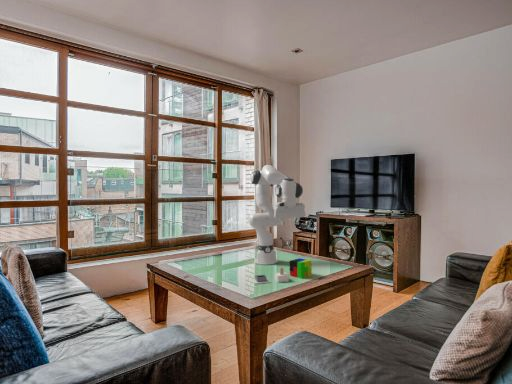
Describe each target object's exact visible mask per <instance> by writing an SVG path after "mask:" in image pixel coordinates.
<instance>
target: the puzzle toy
mask: <svg viewBox="0 0 512 384" xmlns="http://www.w3.org/2000/svg"><path fill="white" fill-rule="evenodd" d="M311 276H312V260H311V259H305V258H301V257H299V258H295V259H291V260H289V277H293V278H297V279H298V278H299V279H305V278H308V277H311Z"/></svg>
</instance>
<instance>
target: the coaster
mask: <svg viewBox="0 0 512 384" xmlns="http://www.w3.org/2000/svg"><path fill="white" fill-rule="evenodd" d="M251 281H252V283H253V284H254V285H261V284H262V285H263V284H271V280H270V279H269V278H268V277H267V281H264V282H257V281H256V280H255V278H251Z"/></svg>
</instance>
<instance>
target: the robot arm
mask: <svg viewBox="0 0 512 384" xmlns="http://www.w3.org/2000/svg"><path fill="white" fill-rule="evenodd" d="M249 178H250V182H251V184H252V185H254V186H255V202H256V207H257V208H258V209H261V210H262V211H263V212H256V213H253V214H250V215H249V217H248V224H249V225H250V227H252V228H253V229H254V230H255V231H256V233H257V237H258V245H257V247H258V248H257V252H256V253H255V254H254V257H255V258H254V264H256V265H268V266H269V265H274V264H276V263H279V260H278V259H277V253H276V251H275V250H274V249H275V248H274V247H275V245H274V237H273V236H274V235H273V233H271V232H270V231H268V230H267V229H266V228H267V227H268V228H269V227H270V228H271V227H277V226H280V225H281V226H285V221H283V220H284V219H291V218H294V219H295V218H296V219H297V220H296V221H295V225H299V222H300V220H301V218H305V216H306V210H305V208H306V207H305V203H303V202H297V199H299V198H300V197H301V196H302V195H303V191H304V190H303V186H302V185H301V184H300V183H299V182H296V181H295V179H294V178H291V177H289V176H287V175H285V174H283V173H282V172H280V171H279V170H277V168H276V167H275V166H273V165H271V164H266V165H264V166H263V167H262V169H261V170H253V171H252V172H251V174H250V177H249ZM274 185H275V188H274V189H275V190H274V191H275V196H276V197H277V198H279V199H282V200H281V201H279V202H275V207H273V206H272V203H271V195H270V190H269V189H270V187H274Z"/></svg>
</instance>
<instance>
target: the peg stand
mask: <svg viewBox="0 0 512 384" xmlns="http://www.w3.org/2000/svg"><path fill="white" fill-rule="evenodd" d="M278 271H279V272H274V280H275V281H276V282H277V283H285V282H286V283H287V282H289V281H290V278H289V277H290V274H288V273H287V272H285V271H284V267H283V266H282V267H281V266H280V267H279V270H278Z"/></svg>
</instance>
